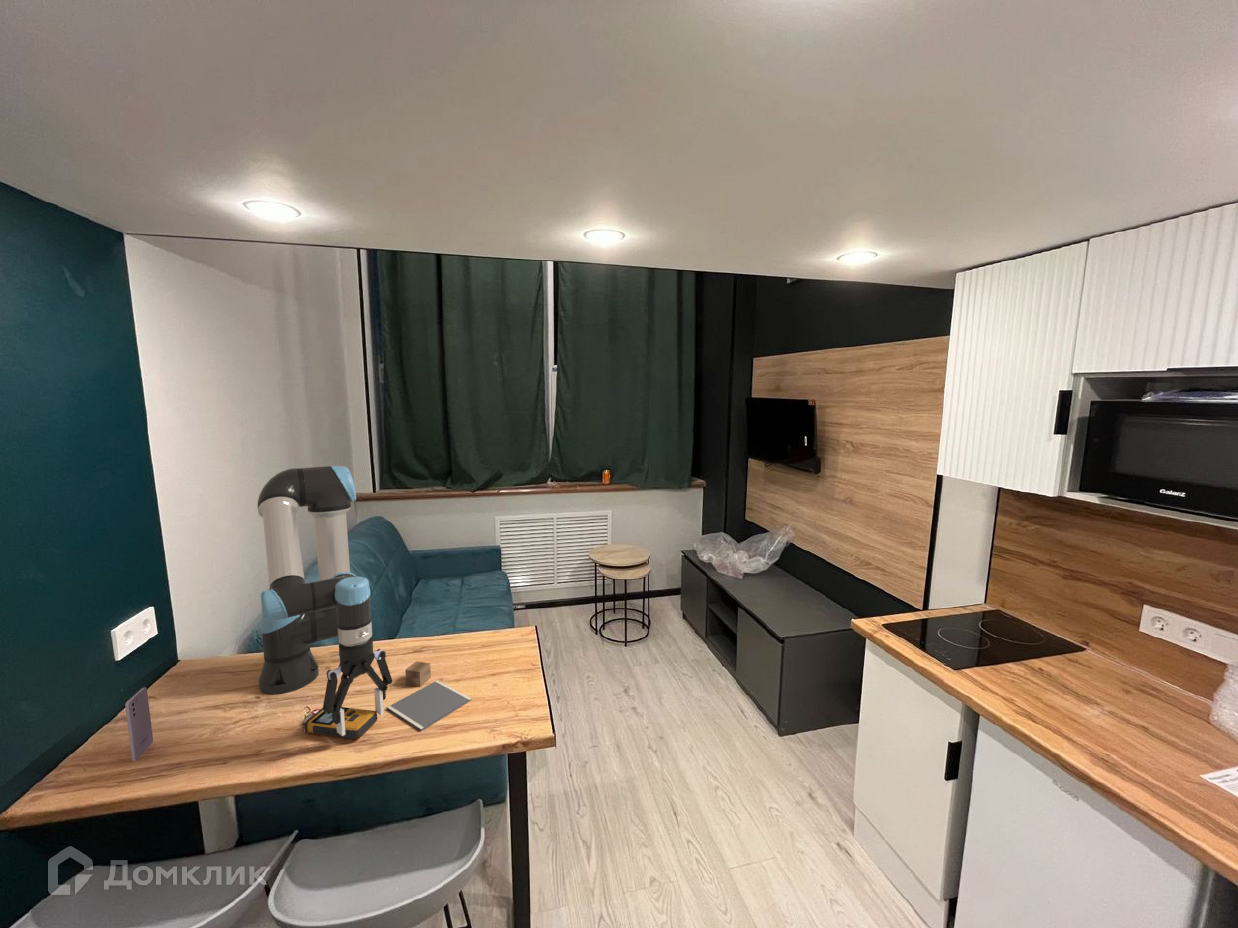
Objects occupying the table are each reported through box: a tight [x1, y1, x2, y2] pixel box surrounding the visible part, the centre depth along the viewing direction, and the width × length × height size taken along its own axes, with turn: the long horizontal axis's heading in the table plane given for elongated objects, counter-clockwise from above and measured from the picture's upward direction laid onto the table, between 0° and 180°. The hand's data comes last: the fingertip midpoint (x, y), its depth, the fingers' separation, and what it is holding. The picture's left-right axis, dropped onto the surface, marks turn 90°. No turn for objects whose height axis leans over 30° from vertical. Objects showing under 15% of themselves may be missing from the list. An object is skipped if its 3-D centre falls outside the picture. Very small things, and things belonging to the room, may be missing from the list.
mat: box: [386, 680, 472, 732], centre depth 137 cm, size 16×16×1 cm
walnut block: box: [404, 660, 432, 688], centre depth 148 cm, size 5×5×5 cm
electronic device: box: [304, 706, 378, 740], centre depth 127 cm, size 8×16×3 cm, turn 79°
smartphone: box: [124, 687, 154, 762], centre depth 117 cm, size 7×1×15 cm, turn 18°
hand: (361, 722), depth 125 cm, fingers closed on electronic device, 9 cm apart
